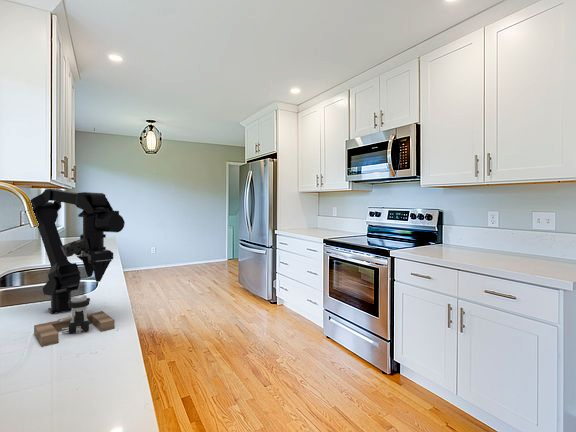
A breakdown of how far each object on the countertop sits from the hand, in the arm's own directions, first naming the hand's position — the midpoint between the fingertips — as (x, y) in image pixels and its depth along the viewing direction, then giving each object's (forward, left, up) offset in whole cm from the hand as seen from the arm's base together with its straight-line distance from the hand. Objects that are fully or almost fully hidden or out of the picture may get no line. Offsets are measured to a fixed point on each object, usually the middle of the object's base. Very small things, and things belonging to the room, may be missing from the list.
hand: (93, 279), depth 102 cm
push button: (+11, -7, -12) cm, 18 cm away
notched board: (+11, -8, -12) cm, 18 cm away
